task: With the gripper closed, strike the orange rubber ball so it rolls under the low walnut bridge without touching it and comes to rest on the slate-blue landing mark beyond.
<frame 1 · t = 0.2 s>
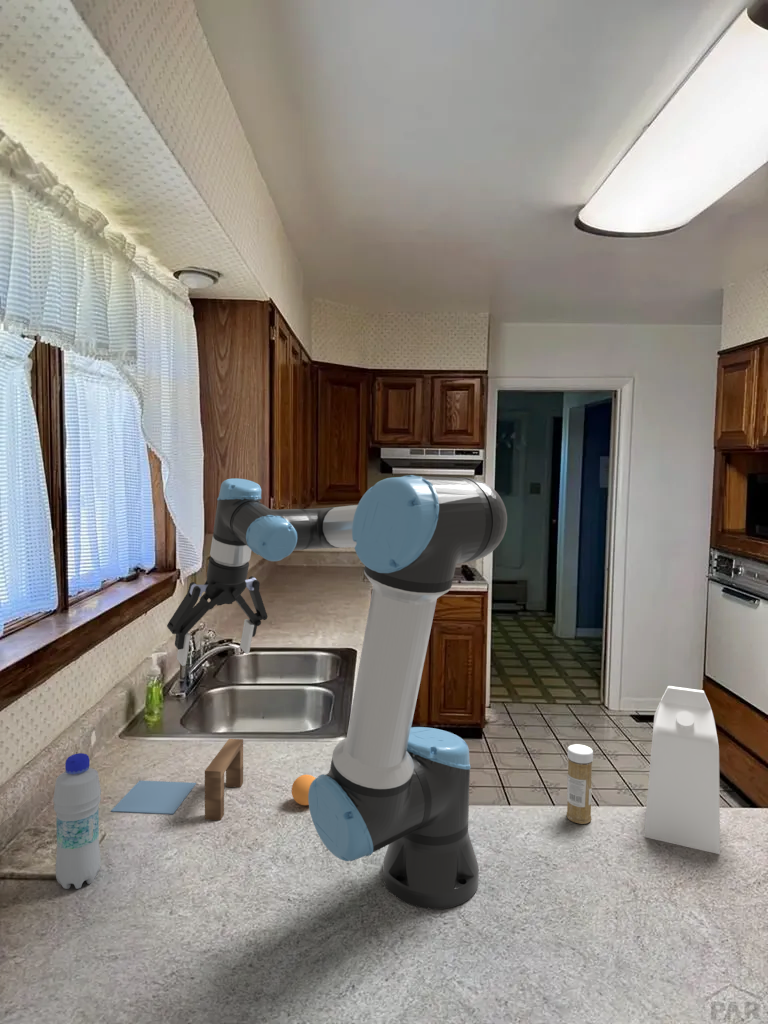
hand: (213, 656, 125), 28 cm above the countertop, tool tilted 20°, fingers open, 13 cm apart
milk: (680, 830, 115), on the countertop
bottle: (78, 881, 98), on the countertop
sprinkles bottle: (578, 819, 118), on the countertop
bridge: (225, 800, 123), on the countertop
ball: (305, 789, 122), on the countertop
landing mark: (155, 797, 124), on the countertop
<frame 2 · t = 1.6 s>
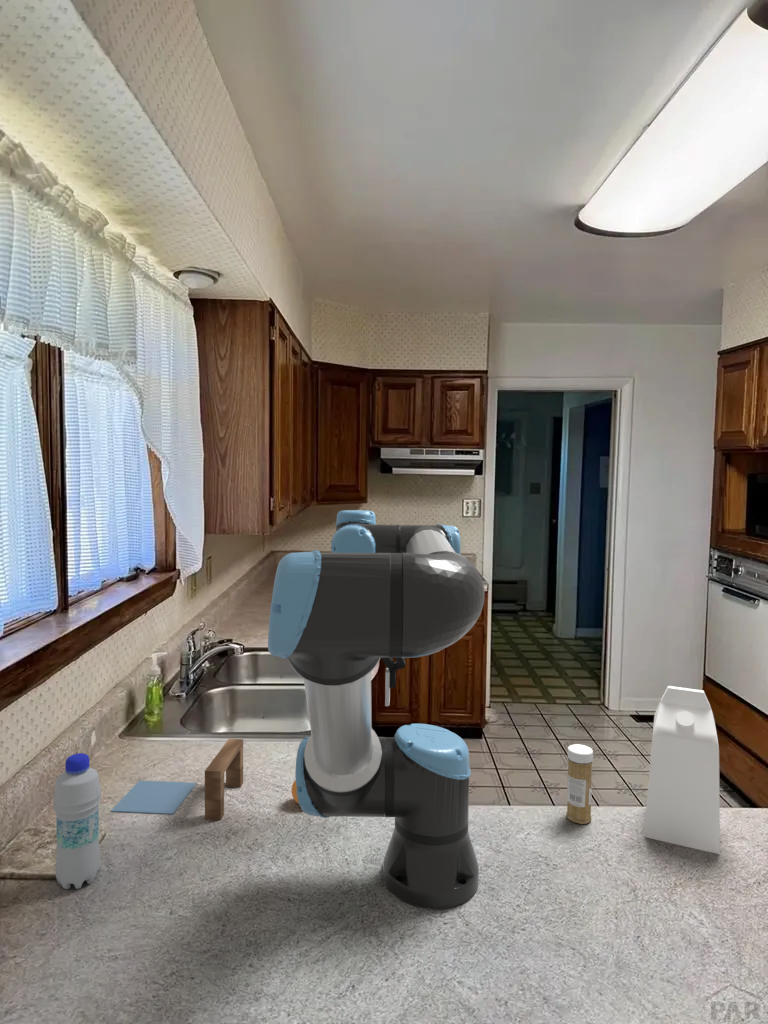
hand: (354, 702, 120), 20 cm above the countertop, tool pointing down, fingers open, 12 cm apart
nothing on the countertop moved.
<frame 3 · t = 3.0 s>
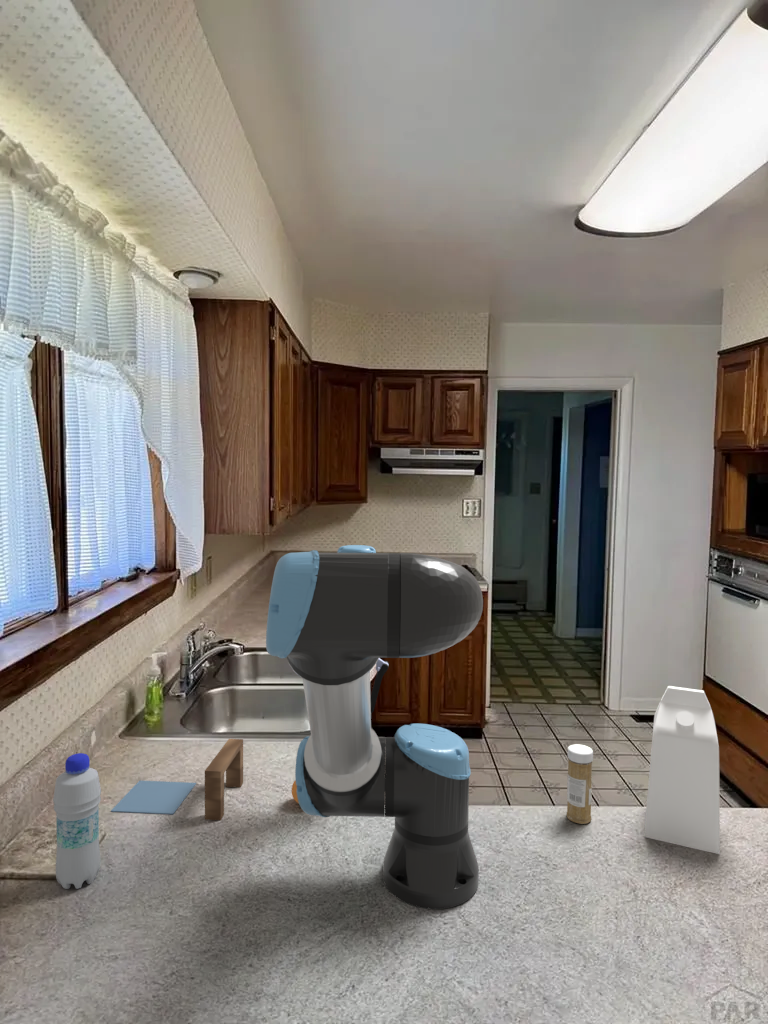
hand: (354, 746, 121), 12 cm above the countertop, tool pointing down, fingers closed
nothing on the countertop moved.
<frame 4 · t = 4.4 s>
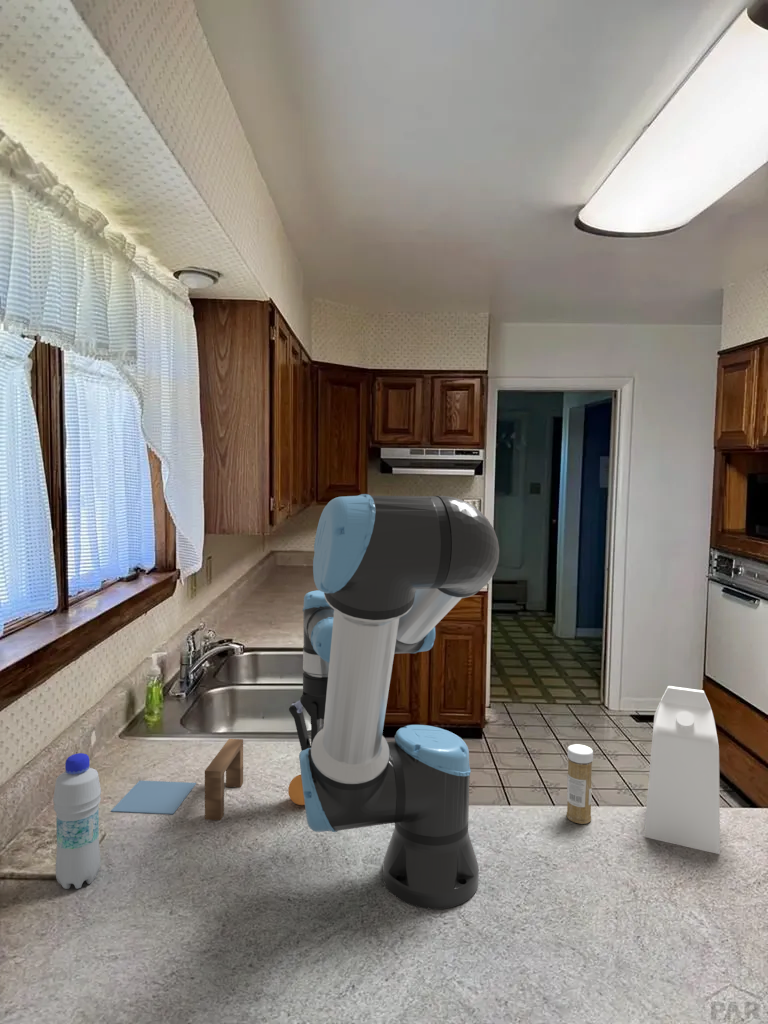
hand: (321, 788, 123), 3 cm above the countertop, tool pointing down, fingers closed
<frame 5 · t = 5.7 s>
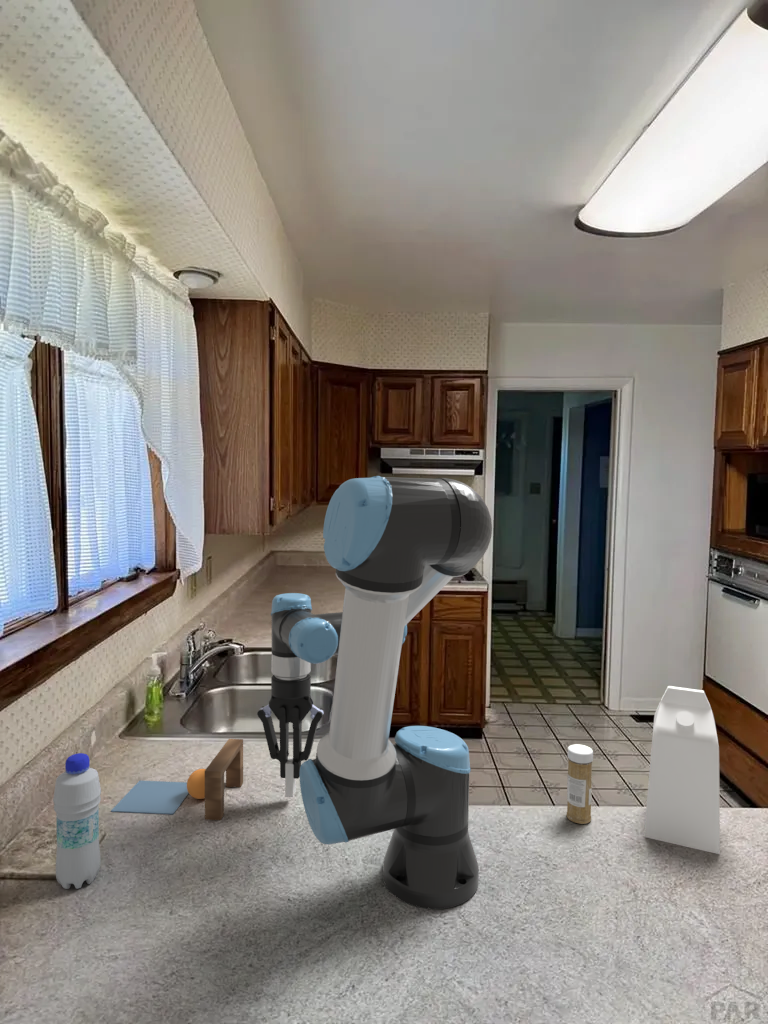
hand: (290, 793, 122), 2 cm above the countertop, tool pointing down, fingers closed
ball: (201, 783, 124), on the countertop
everything else where it was.
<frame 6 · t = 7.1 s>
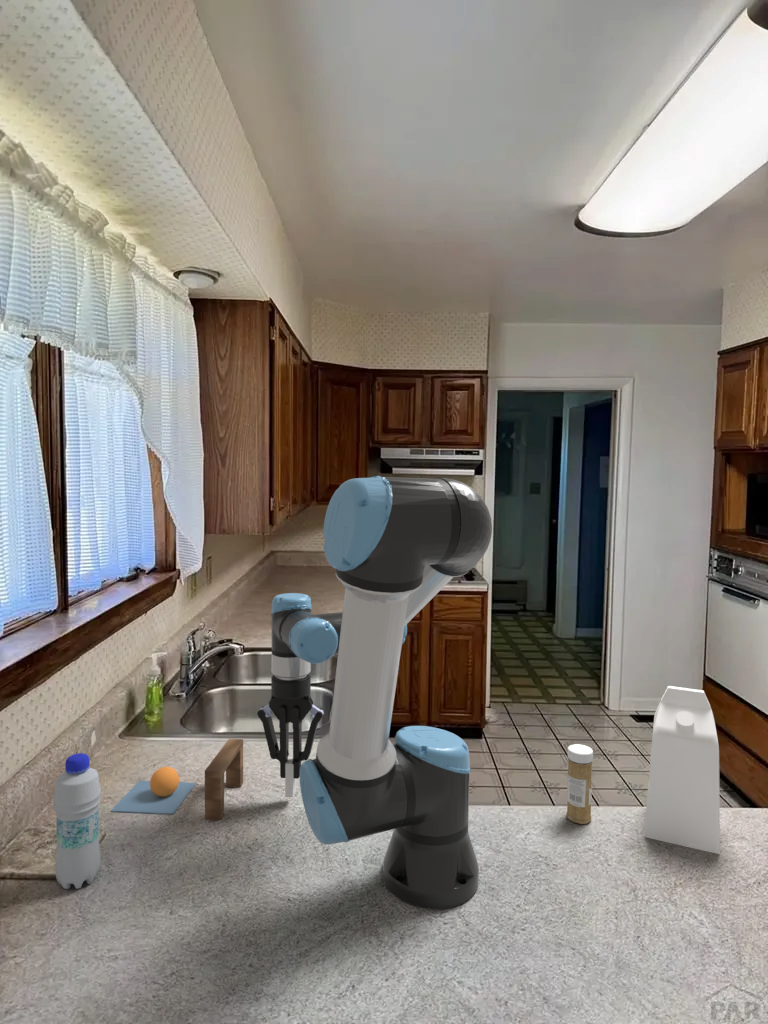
hand: (290, 793, 122), 2 cm above the countertop, tool pointing down, fingers closed
ball: (164, 781, 125), on the countertop
everything else where it was.
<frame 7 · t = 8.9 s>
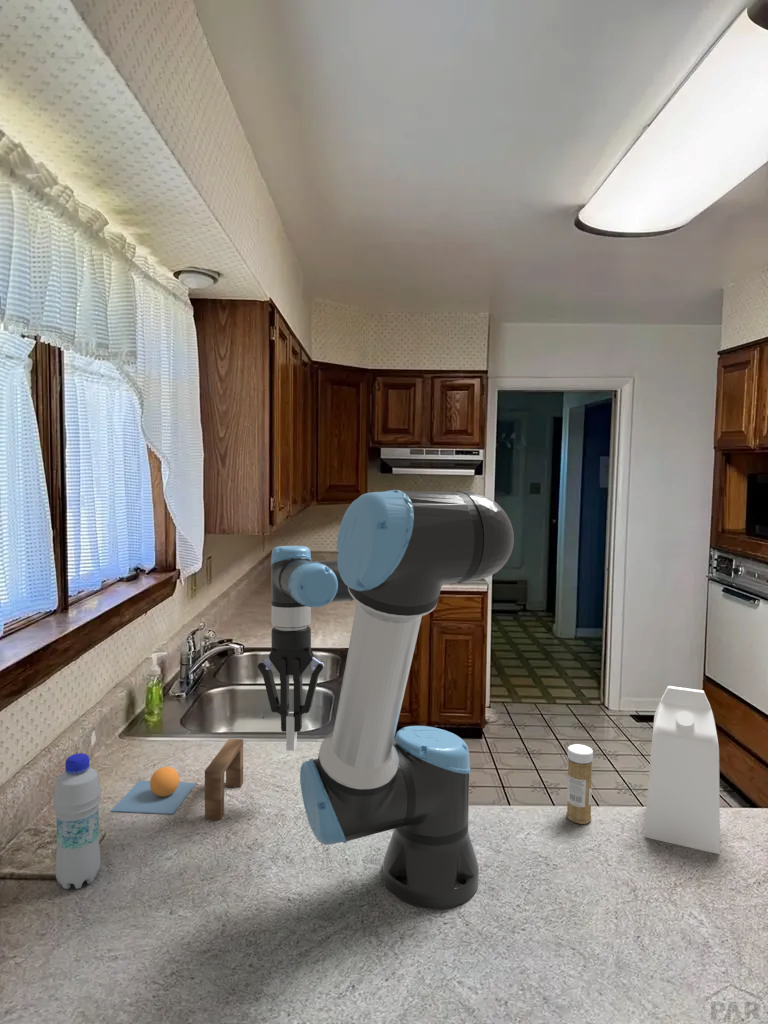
hand: (291, 747, 121), 11 cm above the countertop, tool pointing down, fingers closed
nothing on the countertop moved.
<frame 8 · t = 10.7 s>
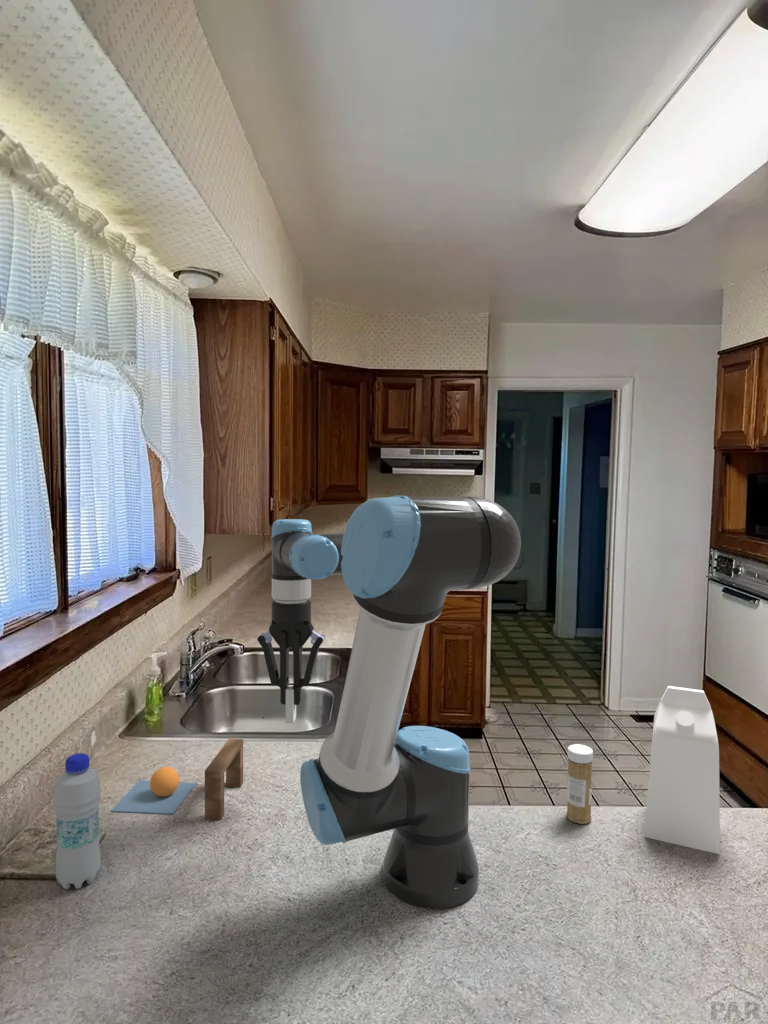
hand: (290, 720, 121), 16 cm above the countertop, tool pointing down, fingers closed
nothing on the countertop moved.
at the end: ball 1.7 cm from the landing mark (horizontally); ball never touched bridge; ball at rest at the end (0.0 cm/s) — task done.
